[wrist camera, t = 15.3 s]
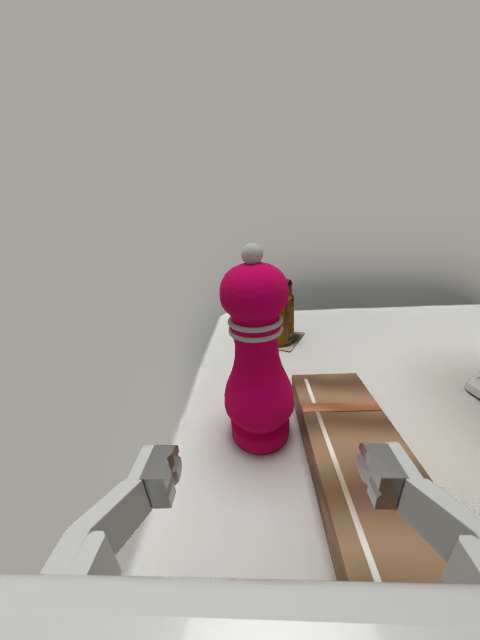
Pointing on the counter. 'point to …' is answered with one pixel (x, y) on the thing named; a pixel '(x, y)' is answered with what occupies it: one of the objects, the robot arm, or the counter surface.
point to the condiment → (288, 324)
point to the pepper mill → (257, 354)
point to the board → (357, 484)
